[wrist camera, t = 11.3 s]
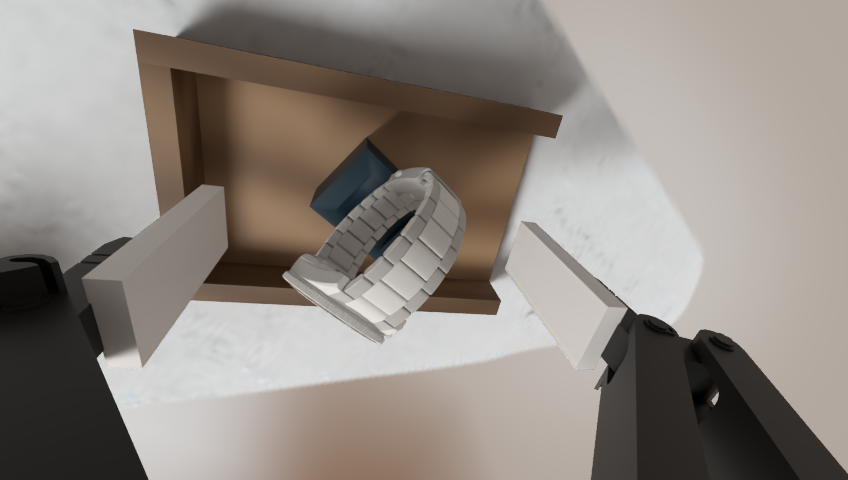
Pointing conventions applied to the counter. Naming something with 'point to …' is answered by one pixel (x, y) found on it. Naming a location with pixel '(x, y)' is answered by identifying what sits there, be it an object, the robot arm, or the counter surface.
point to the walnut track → (321, 158)
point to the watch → (380, 242)
